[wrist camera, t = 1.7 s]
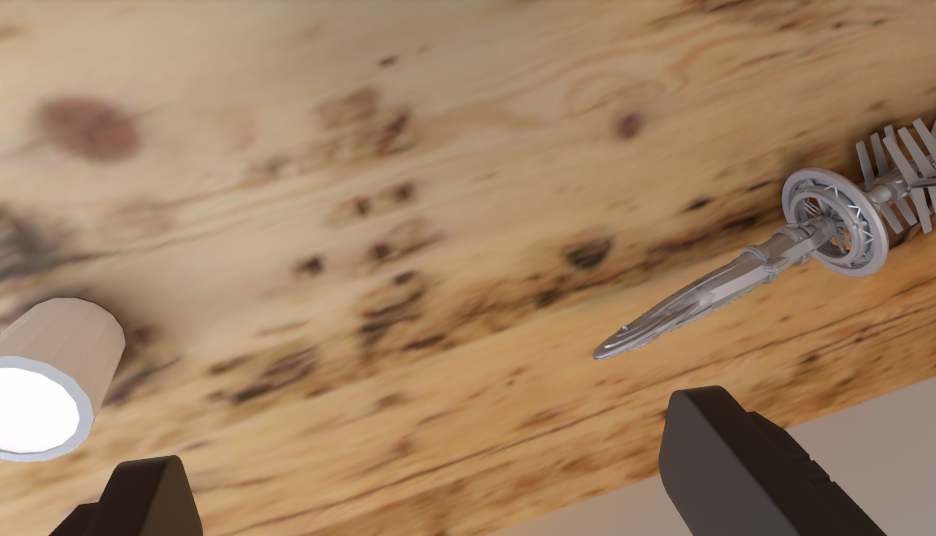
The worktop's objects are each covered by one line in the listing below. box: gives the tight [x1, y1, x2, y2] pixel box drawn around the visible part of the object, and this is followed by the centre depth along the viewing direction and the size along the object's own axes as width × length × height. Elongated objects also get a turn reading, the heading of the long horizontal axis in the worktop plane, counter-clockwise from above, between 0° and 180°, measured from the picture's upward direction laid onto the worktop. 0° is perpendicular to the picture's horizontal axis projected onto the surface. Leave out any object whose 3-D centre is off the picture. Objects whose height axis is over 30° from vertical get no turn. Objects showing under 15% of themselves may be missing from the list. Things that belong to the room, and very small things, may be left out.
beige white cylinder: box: [0, 298, 126, 462], centre depth 32 cm, size 7×7×7 cm
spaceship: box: [592, 118, 936, 360], centre depth 37 cm, size 8×35×8 cm
